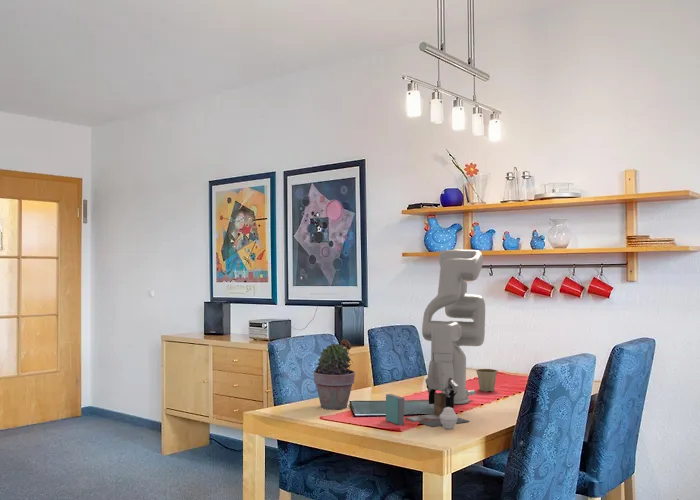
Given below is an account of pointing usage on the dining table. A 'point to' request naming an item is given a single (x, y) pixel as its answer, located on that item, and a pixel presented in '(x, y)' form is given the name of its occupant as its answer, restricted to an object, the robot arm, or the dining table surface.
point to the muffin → (448, 418)
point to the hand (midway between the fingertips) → (441, 406)
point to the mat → (438, 423)
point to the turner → (438, 408)
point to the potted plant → (334, 376)
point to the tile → (395, 409)
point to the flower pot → (486, 379)
